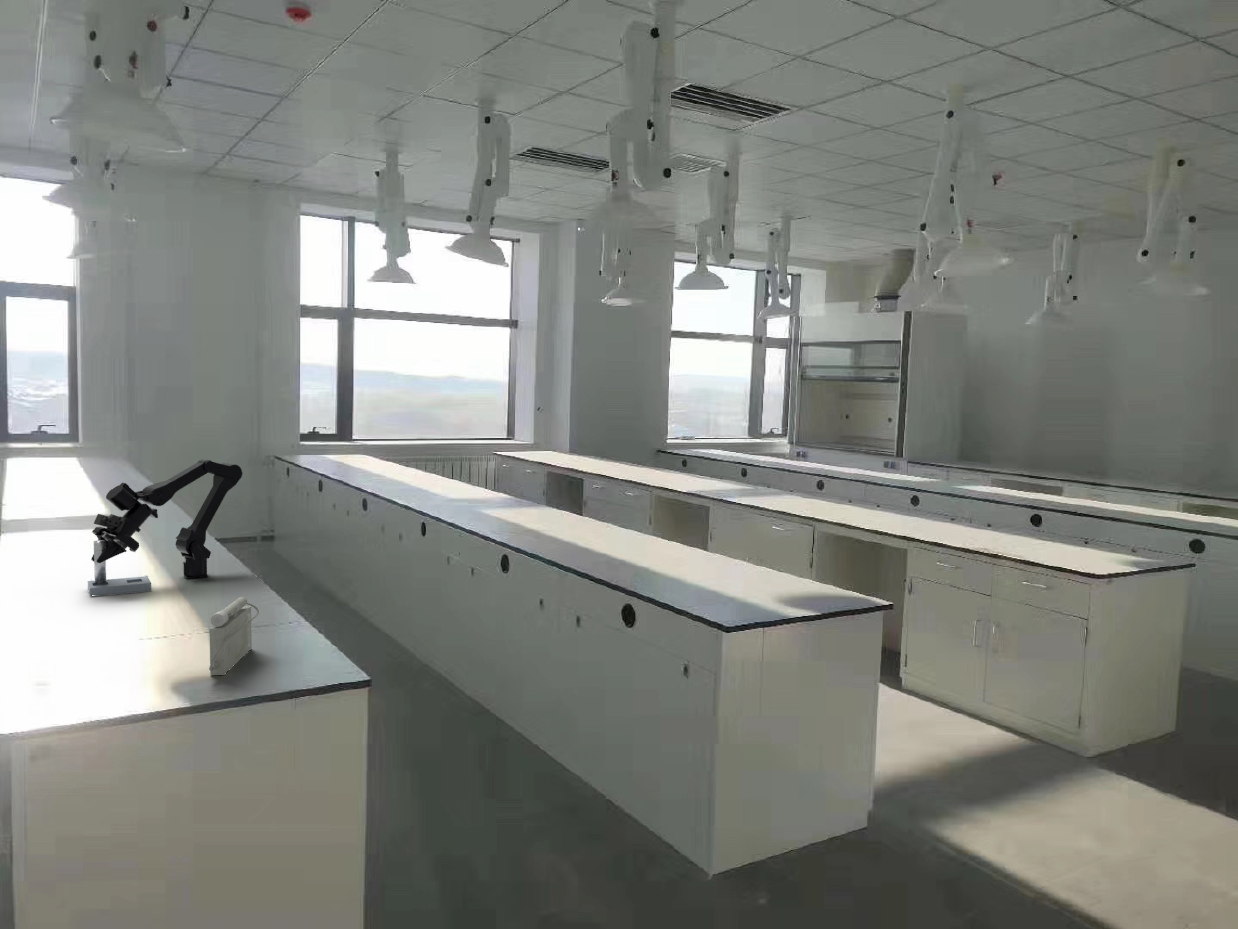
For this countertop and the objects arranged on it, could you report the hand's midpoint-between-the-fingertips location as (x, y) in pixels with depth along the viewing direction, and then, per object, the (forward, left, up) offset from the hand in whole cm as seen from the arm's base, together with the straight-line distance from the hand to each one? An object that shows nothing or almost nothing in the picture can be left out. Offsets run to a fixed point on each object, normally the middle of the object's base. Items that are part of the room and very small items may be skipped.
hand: (95, 561), depth 268 cm
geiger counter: (-22, +87, -10) cm, 90 cm away
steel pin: (-1, 0, -7) cm, 7 cm away
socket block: (-6, 0, -9) cm, 11 cm away
